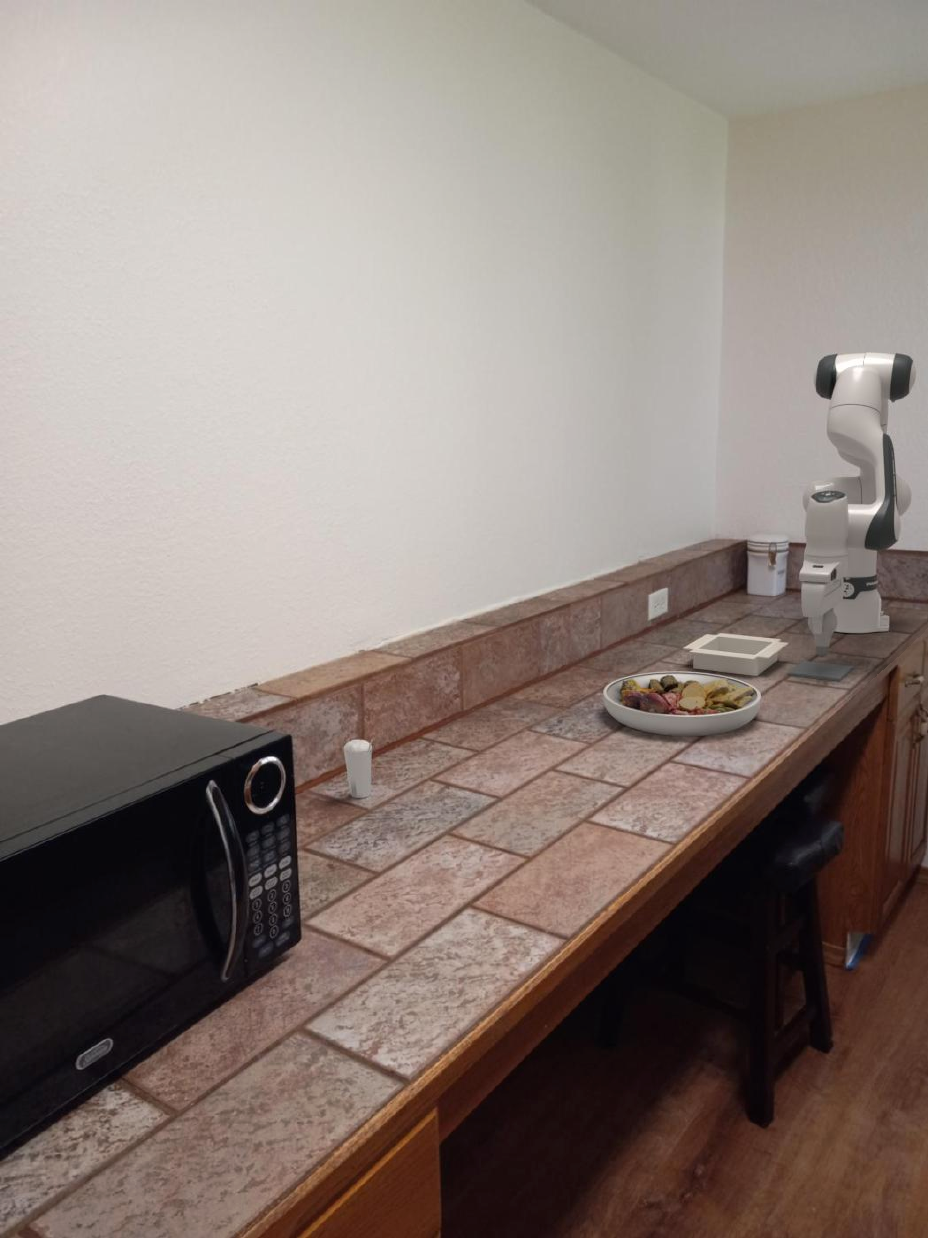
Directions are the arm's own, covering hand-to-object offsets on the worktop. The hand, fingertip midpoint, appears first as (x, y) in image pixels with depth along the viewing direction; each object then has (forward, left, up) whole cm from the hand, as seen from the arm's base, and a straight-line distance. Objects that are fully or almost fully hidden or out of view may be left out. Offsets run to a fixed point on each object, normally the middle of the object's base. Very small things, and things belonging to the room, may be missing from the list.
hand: (822, 629), depth 217 cm
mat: (0, 0, -10) cm, 10 cm away
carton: (+2, -19, -10) cm, 21 cm away
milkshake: (+104, -45, -10) cm, 114 cm away
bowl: (+42, -16, -10) cm, 46 cm away
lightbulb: (0, 0, -6) cm, 6 cm away
